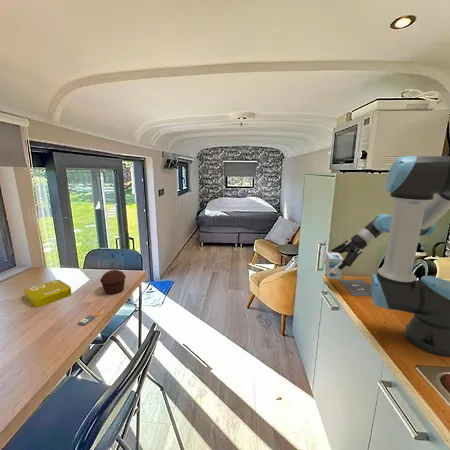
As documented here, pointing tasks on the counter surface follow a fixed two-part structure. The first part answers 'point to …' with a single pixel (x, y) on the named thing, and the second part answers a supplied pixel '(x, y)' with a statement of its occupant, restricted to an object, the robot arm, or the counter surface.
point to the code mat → (357, 287)
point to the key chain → (88, 319)
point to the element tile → (47, 293)
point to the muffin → (113, 282)
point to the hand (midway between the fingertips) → (328, 267)
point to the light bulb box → (333, 265)
